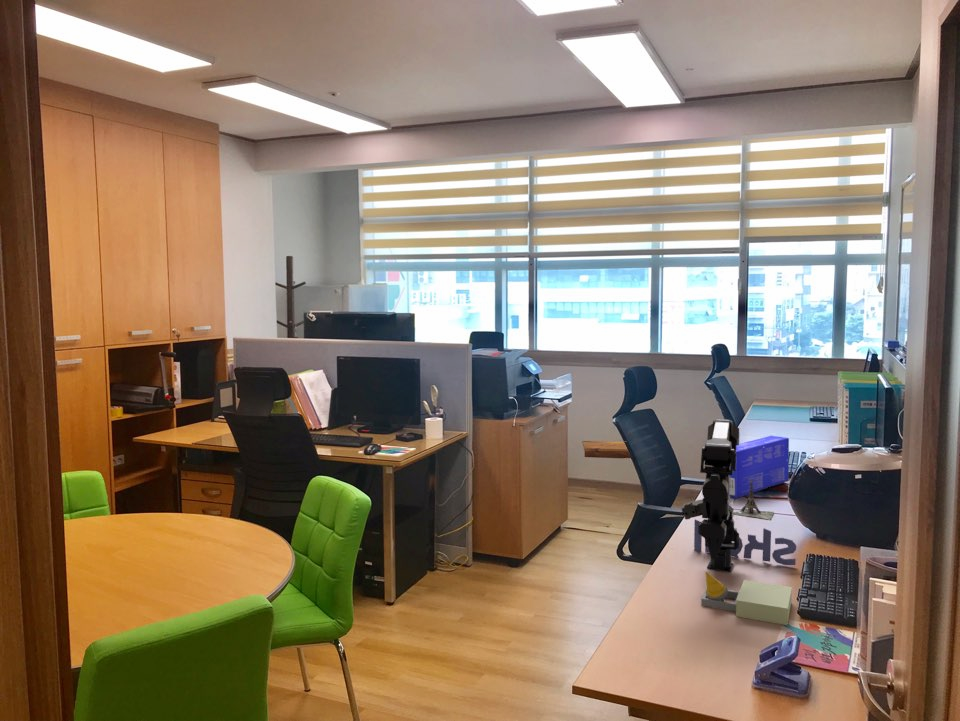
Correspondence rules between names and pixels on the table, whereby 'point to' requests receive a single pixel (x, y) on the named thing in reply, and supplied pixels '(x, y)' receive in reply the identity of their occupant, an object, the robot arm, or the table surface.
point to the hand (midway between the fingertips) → (715, 552)
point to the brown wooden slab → (605, 449)
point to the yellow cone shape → (715, 588)
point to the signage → (755, 546)
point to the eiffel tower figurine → (751, 506)
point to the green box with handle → (757, 602)
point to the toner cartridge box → (760, 465)
